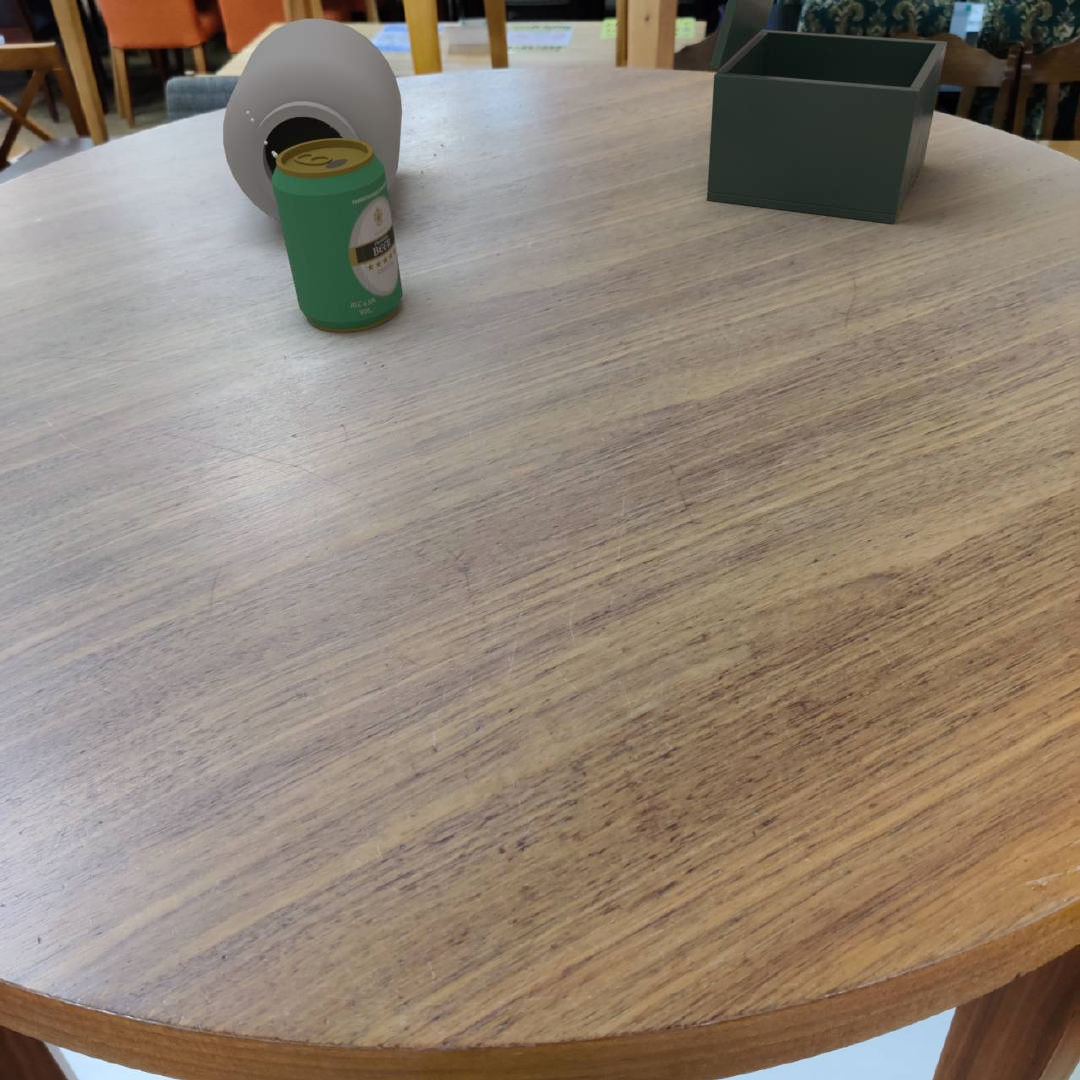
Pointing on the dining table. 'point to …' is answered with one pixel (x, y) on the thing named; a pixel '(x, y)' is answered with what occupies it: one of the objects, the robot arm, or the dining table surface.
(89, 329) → the dining table surface
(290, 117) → the jar
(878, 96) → the bin
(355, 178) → the beverage can
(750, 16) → the bin lid
